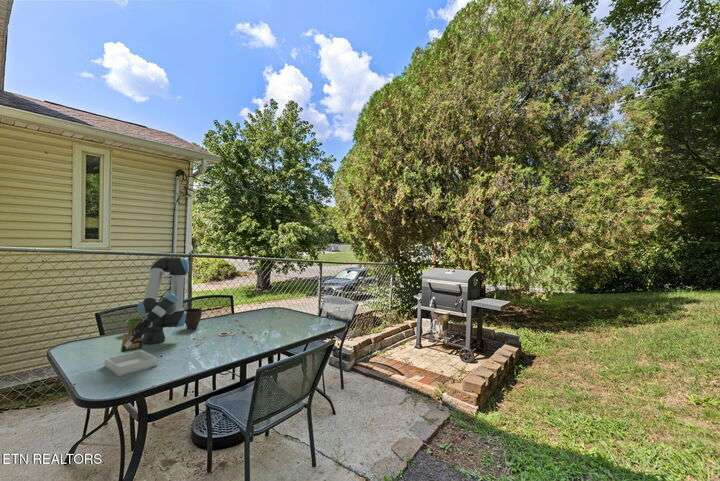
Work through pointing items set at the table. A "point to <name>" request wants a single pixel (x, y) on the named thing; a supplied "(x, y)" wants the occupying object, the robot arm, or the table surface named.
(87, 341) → the table surface
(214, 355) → the table surface
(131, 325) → the plant pot
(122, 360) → the box
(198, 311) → the plant pot
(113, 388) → the table surface
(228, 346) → the table surface
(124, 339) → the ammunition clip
